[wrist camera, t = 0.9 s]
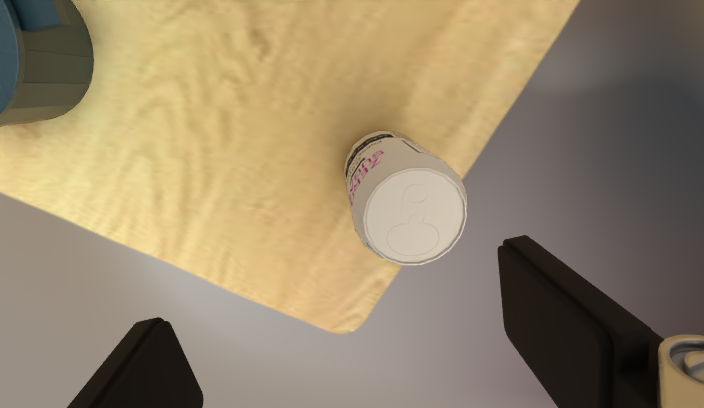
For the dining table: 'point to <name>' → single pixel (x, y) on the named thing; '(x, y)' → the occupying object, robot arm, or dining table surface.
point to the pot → (51, 60)
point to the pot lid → (10, 57)
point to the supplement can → (403, 199)
